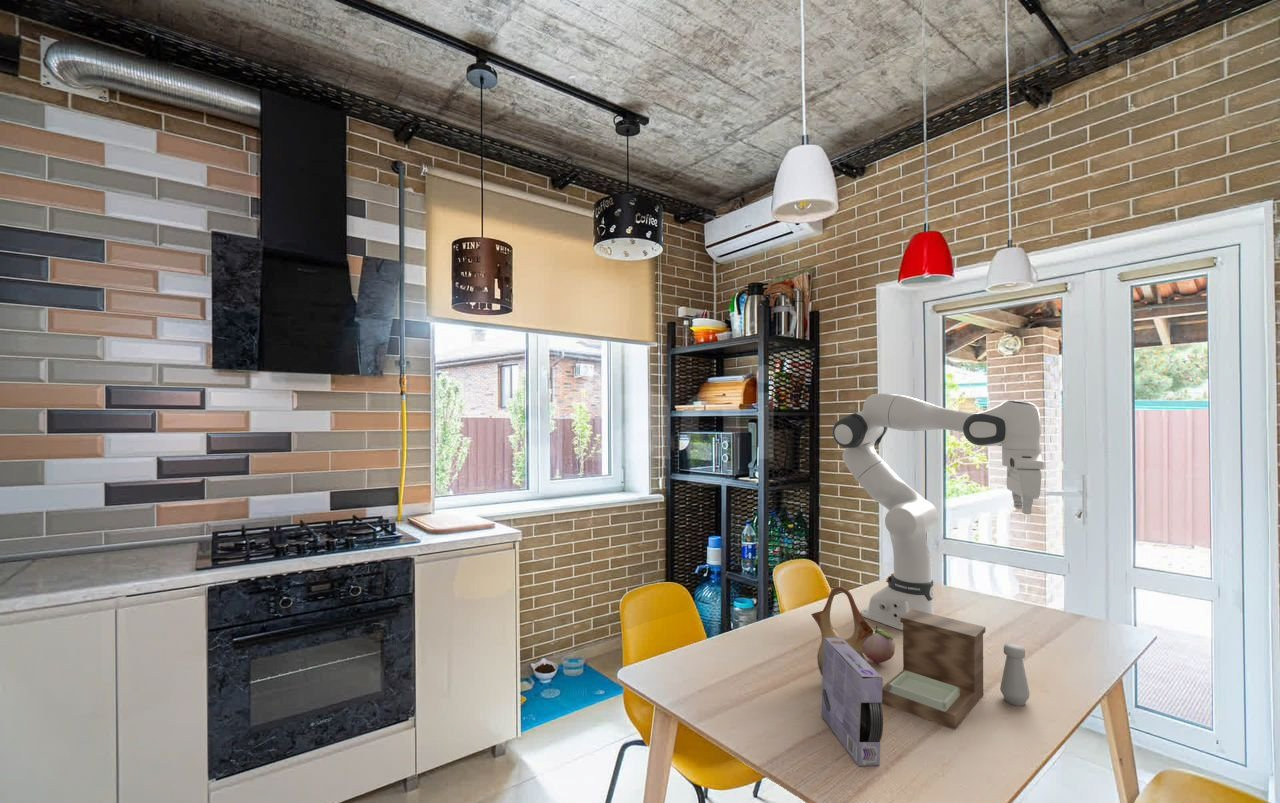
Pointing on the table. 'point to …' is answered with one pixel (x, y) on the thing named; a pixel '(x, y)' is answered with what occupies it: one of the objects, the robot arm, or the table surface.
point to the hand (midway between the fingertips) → (1022, 511)
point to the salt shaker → (1014, 676)
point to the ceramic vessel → (827, 631)
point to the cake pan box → (852, 701)
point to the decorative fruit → (879, 646)
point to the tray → (924, 690)
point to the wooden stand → (941, 663)
